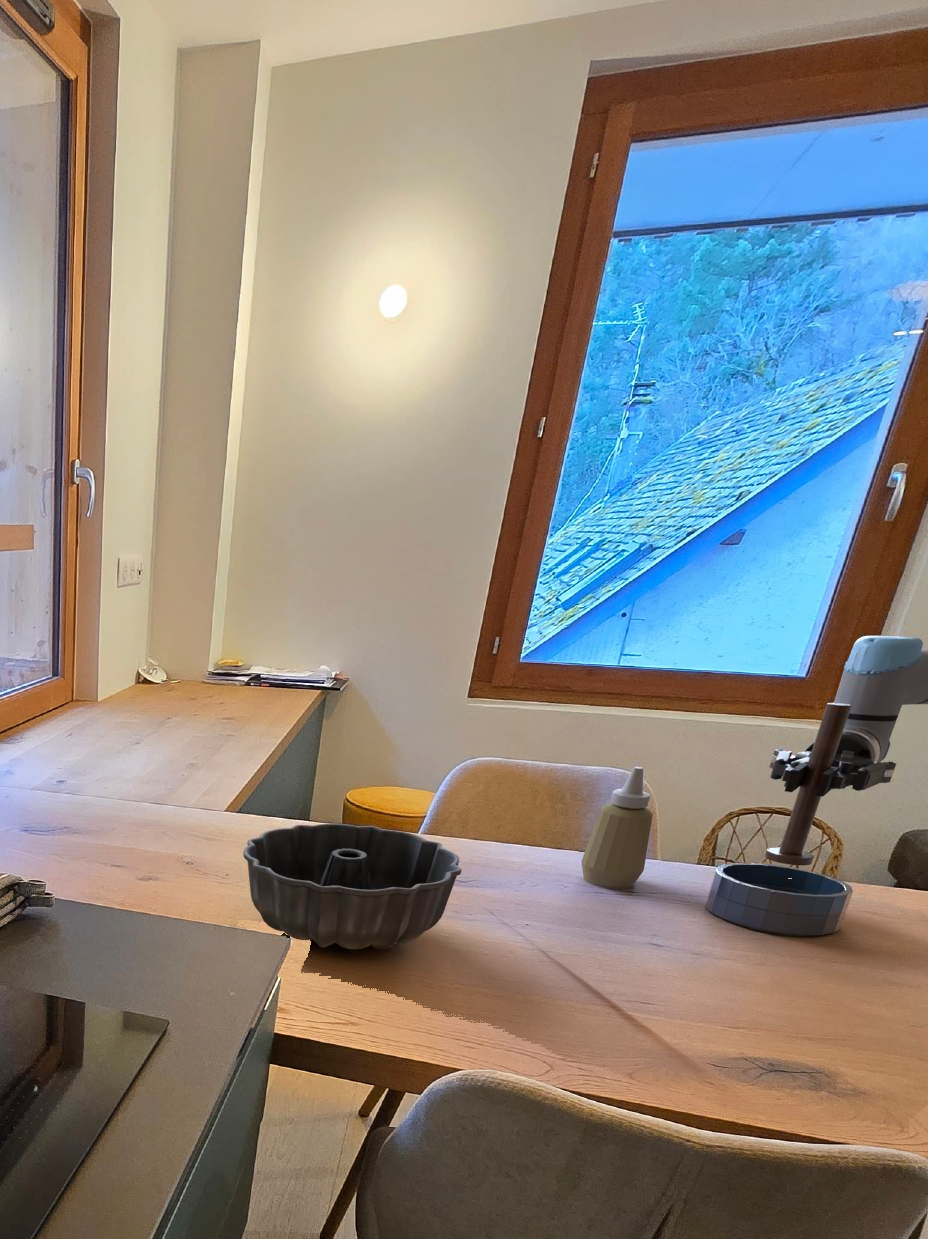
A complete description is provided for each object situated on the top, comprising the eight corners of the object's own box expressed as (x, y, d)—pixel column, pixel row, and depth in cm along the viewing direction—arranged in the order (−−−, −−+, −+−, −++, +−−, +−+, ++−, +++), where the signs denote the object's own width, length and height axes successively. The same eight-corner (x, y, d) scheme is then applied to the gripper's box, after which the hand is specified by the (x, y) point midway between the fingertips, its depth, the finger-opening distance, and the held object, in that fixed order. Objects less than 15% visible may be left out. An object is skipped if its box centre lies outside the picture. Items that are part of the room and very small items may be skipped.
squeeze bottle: (578, 893, 139) (609, 772, 132) (572, 875, 146) (602, 758, 138) (642, 900, 137) (677, 777, 129) (633, 881, 143) (666, 763, 136)
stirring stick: (821, 865, 123) (876, 707, 116) (783, 865, 123) (835, 707, 115) (792, 854, 128) (843, 701, 120) (755, 854, 128) (804, 701, 120)
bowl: (866, 940, 122) (882, 896, 120) (754, 941, 122) (768, 896, 120) (781, 903, 136) (794, 862, 133) (679, 903, 135) (691, 862, 133)
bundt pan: (195, 918, 128) (200, 847, 124) (321, 874, 142) (329, 809, 138) (362, 989, 109) (375, 908, 105) (488, 931, 123) (504, 857, 119)
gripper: (902, 794, 129) (876, 824, 114) (764, 776, 139) (724, 802, 124) (923, 738, 126) (899, 761, 111) (780, 724, 136) (741, 744, 121)
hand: (807, 783), depth 118 cm, fingers closed on stirring stick, 2 cm apart
